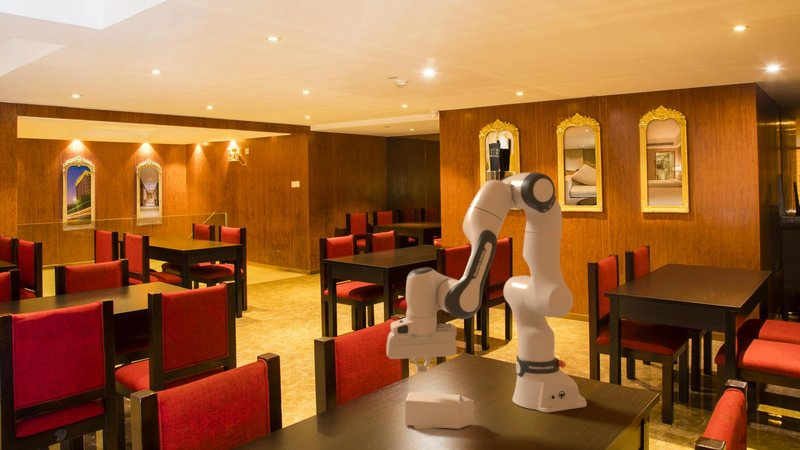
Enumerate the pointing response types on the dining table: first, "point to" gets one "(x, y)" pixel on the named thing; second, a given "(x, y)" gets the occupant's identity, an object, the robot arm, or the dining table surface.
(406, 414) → the milk carton
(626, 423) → the dining table surface
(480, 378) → the dining table surface
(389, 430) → the dining table surface
